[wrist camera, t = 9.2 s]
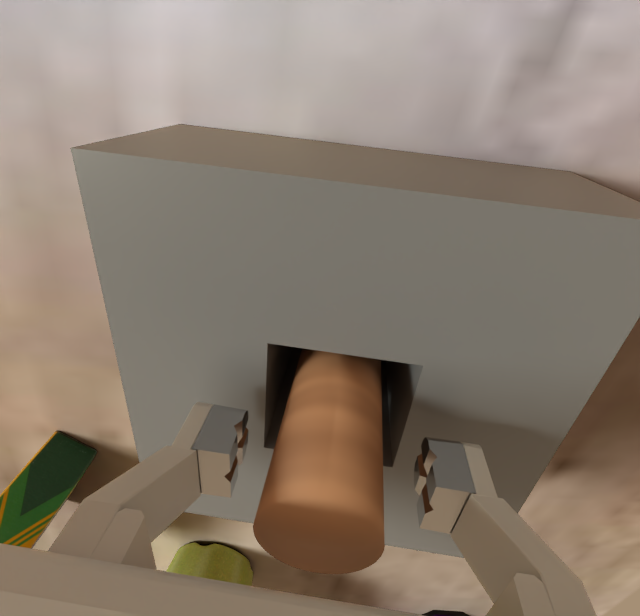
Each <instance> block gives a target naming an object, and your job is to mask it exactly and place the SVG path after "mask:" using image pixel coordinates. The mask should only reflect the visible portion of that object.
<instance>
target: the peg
mask: <svg viewBox="0 0 640 616" xmlns="http://www.w3.org/2000/svg"><path fill="white" fill-rule="evenodd" d="M253 530H254V534H255V537H256V539H257V541H258V543H259V544H260V545H261V546H262V547H263V549H264V550H265V551H267V552H268V553H269V554H270V555H272V556H273V557H275V558H276V559H278V560H280V561H281V562H283V563H285V564H288V565H290V566H293V567H295V568H298V569H302V570H305V571H310V572H315V573H323V574H344V573H351V572H355V571H359V570H362V569H364V568H367V567H369V566H370V565H372V564H374V563H375V562H376V561H377V560H378V559H379V558H380V557H381V555H382V553H383V551H384V547H385V541H384V490H383V439H382V388H381V360H380V359H373V358H366V357H359V356H352V355H345V354H338V353H331V352H324V351H317V350H311V349H304V348H302V351H301V354H300V358H299V361H298V365H297V369H296V372H295V376H294V379H293V383H292V387H291V390H290V394H289V397H288V401H287V405H286V408H285V412H284V415H283V419H282V423H281V426H280V430H279V433H278V437H277V441H276V444H275V448H274V451H273V455H272V459H271V462H270V466H269V469H268V473H267V477H266V480H265V484H264V487H263V491H262V495H261V498H260V502H259V505H258V509H257V513H256V516H255V520H254V525H253Z"/></svg>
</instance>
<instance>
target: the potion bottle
mask: <svg viewBox="0 0 640 616" xmlns="http://www.w3.org/2000/svg"><path fill="white" fill-rule="evenodd" d="M423 615H424V616H468V615H467V614H465V613H463V612H452V611H437V610H433V611H430V612H428V613H425V614H423Z"/></svg>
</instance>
